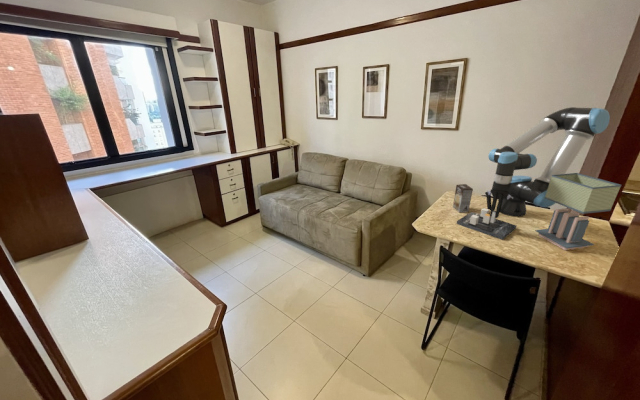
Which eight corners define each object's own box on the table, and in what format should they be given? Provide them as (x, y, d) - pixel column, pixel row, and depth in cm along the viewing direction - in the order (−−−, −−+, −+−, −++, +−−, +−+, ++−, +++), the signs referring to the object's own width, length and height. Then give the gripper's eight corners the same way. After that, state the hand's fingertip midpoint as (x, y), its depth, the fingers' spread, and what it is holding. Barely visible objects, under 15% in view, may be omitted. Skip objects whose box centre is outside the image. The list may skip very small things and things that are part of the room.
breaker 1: (472, 221, 146) (473, 214, 145) (477, 223, 144) (479, 216, 142) (469, 223, 145) (470, 216, 143) (475, 225, 143) (476, 218, 141)
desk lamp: (532, 233, 137) (551, 175, 124) (556, 230, 138) (577, 172, 125) (567, 252, 120) (592, 187, 107) (594, 249, 121) (622, 184, 108)
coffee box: (452, 206, 172) (455, 184, 166) (461, 206, 172) (465, 183, 165) (458, 212, 163) (463, 189, 157) (469, 212, 163) (473, 188, 157)
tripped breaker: (484, 220, 147) (486, 213, 145) (490, 222, 145) (492, 214, 143) (482, 222, 145) (484, 214, 143) (488, 224, 143) (489, 216, 141)
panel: (470, 214, 160) (471, 211, 159) (515, 228, 142) (516, 225, 141) (456, 223, 150) (457, 220, 149) (502, 240, 132) (503, 236, 131)
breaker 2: (482, 214, 153) (483, 208, 152) (487, 216, 151) (489, 209, 150) (479, 216, 152) (481, 209, 150) (485, 218, 150) (486, 211, 148)
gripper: (485, 180, 136) (477, 220, 145) (514, 186, 126) (503, 228, 135) (491, 177, 140) (482, 216, 149) (519, 183, 130) (508, 223, 140)
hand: (492, 222), depth 142 cm, fingers closed
